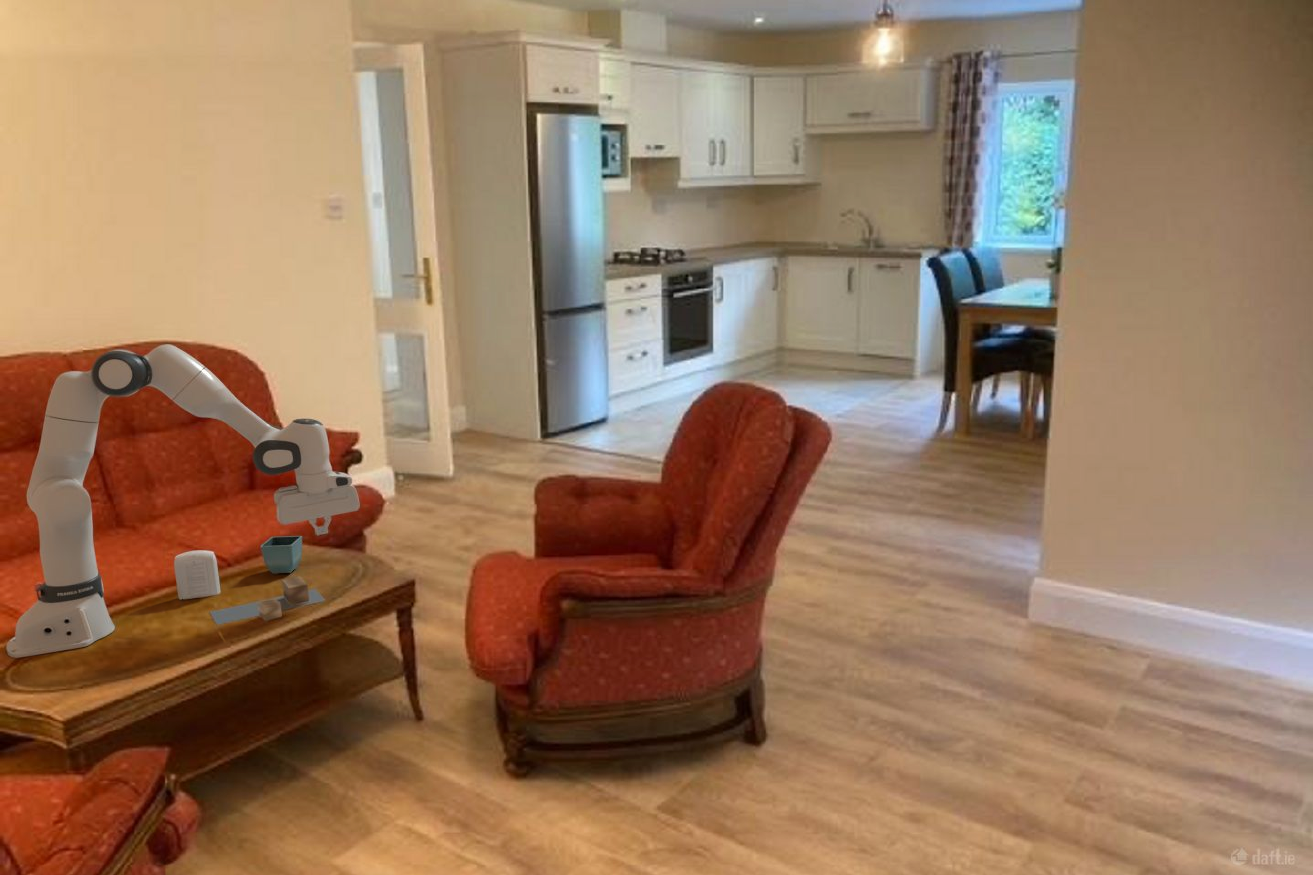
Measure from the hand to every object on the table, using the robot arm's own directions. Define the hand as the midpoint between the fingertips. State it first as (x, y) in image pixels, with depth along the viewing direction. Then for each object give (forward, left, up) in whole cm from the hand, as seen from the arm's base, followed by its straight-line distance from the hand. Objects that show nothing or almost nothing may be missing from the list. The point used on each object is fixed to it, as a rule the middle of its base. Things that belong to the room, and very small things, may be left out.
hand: (321, 533), depth 263 cm
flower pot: (-5, +27, -17) cm, 32 cm away
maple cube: (-16, -8, -16) cm, 24 cm away
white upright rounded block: (-28, +21, -17) cm, 39 cm away
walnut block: (-8, 0, -16) cm, 18 cm away
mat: (-15, 0, -16) cm, 22 cm away
